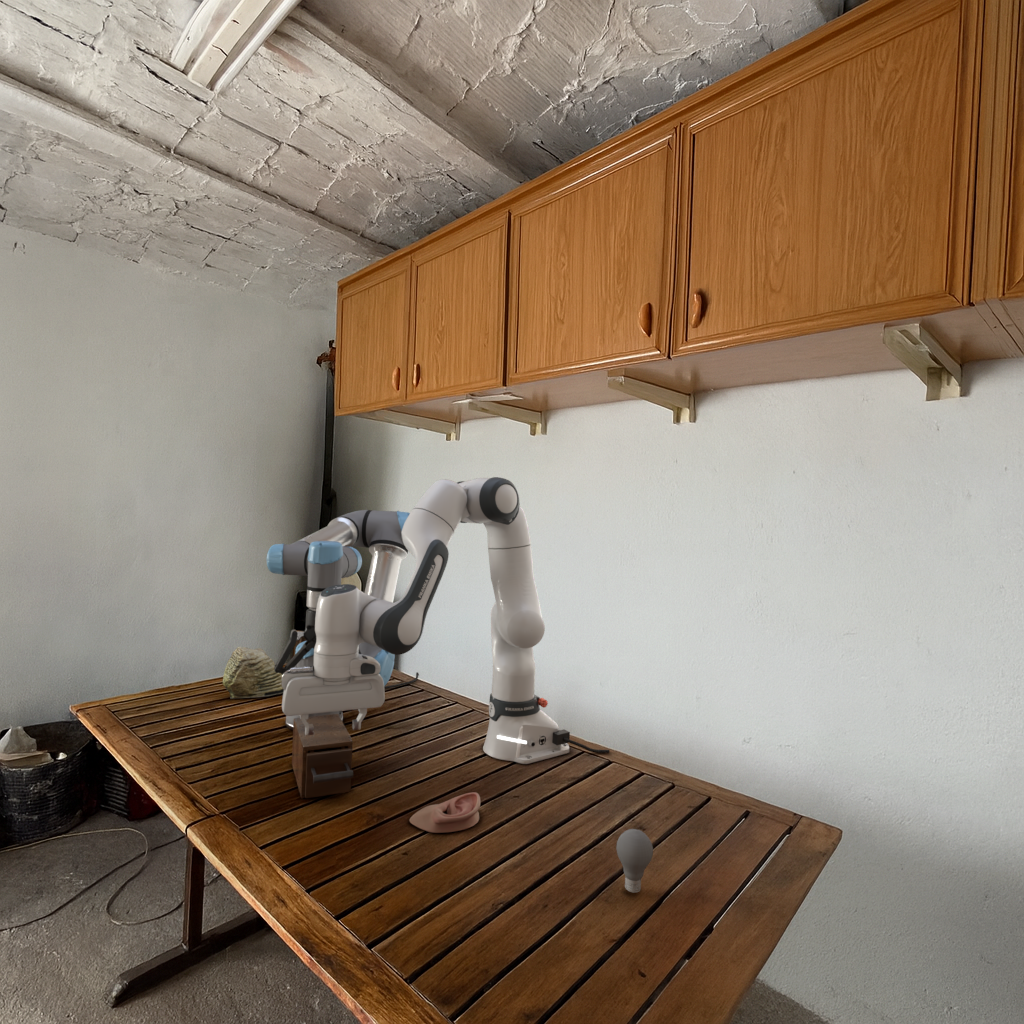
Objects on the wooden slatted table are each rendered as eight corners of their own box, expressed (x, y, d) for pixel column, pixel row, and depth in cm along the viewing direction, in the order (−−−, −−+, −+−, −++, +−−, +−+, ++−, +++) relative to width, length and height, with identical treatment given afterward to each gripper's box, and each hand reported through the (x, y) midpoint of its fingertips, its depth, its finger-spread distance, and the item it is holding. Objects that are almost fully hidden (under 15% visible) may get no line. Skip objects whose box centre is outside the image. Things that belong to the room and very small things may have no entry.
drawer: (355, 804, 129) (357, 760, 129) (309, 811, 125) (311, 766, 125) (336, 760, 150) (338, 723, 150) (296, 766, 146) (297, 727, 146)
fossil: (218, 695, 195) (220, 647, 195) (278, 685, 208) (279, 640, 207) (228, 703, 189) (230, 653, 188) (289, 692, 201) (290, 645, 201)
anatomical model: (404, 808, 122) (424, 782, 133) (403, 828, 122) (423, 801, 133) (470, 818, 119) (485, 791, 131) (469, 838, 119) (484, 810, 131)
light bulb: (610, 879, 108) (613, 822, 108) (644, 879, 109) (647, 822, 109) (619, 902, 102) (622, 840, 102) (655, 901, 103) (658, 840, 103)
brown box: (350, 791, 137) (352, 741, 137) (301, 798, 133) (303, 747, 132) (336, 758, 153) (338, 713, 153) (291, 764, 149) (293, 718, 149)
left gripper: (266, 612, 138) (263, 710, 138) (380, 609, 148) (377, 699, 148) (264, 607, 144) (260, 699, 145) (373, 604, 155) (370, 690, 155)
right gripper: (283, 672, 122) (280, 743, 122) (388, 665, 131) (385, 731, 131) (280, 664, 128) (277, 732, 128) (381, 657, 137) (378, 721, 137)
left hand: (319, 699), depth 147 cm, fingers open, 13 cm apart
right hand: (333, 731), depth 130 cm, fingers open, 8 cm apart
